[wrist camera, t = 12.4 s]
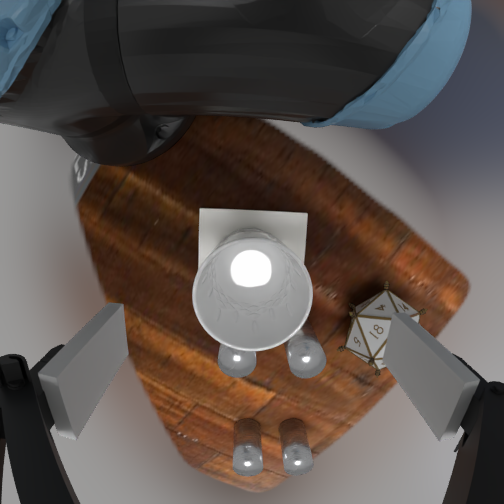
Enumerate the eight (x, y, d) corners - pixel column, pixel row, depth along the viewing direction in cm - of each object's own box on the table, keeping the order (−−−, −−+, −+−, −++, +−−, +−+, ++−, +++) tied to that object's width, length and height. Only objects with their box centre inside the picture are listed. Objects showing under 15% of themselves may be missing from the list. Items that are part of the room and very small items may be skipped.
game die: (353, 289, 36) (388, 251, 27) (409, 328, 34) (457, 302, 25) (312, 352, 33) (340, 333, 24) (374, 393, 31) (420, 387, 22)
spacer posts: (222, 312, 33) (218, 344, 26) (322, 315, 33) (340, 346, 26) (221, 435, 36) (218, 475, 29) (302, 435, 36) (311, 474, 29)
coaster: (200, 207, 30) (199, 208, 30) (306, 212, 31) (307, 213, 30) (199, 307, 32) (198, 310, 32) (297, 311, 33) (299, 314, 32)
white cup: (212, 304, 32) (200, 354, 22) (204, 224, 30) (185, 242, 20) (293, 298, 32) (313, 346, 22) (289, 218, 30) (311, 233, 20)
